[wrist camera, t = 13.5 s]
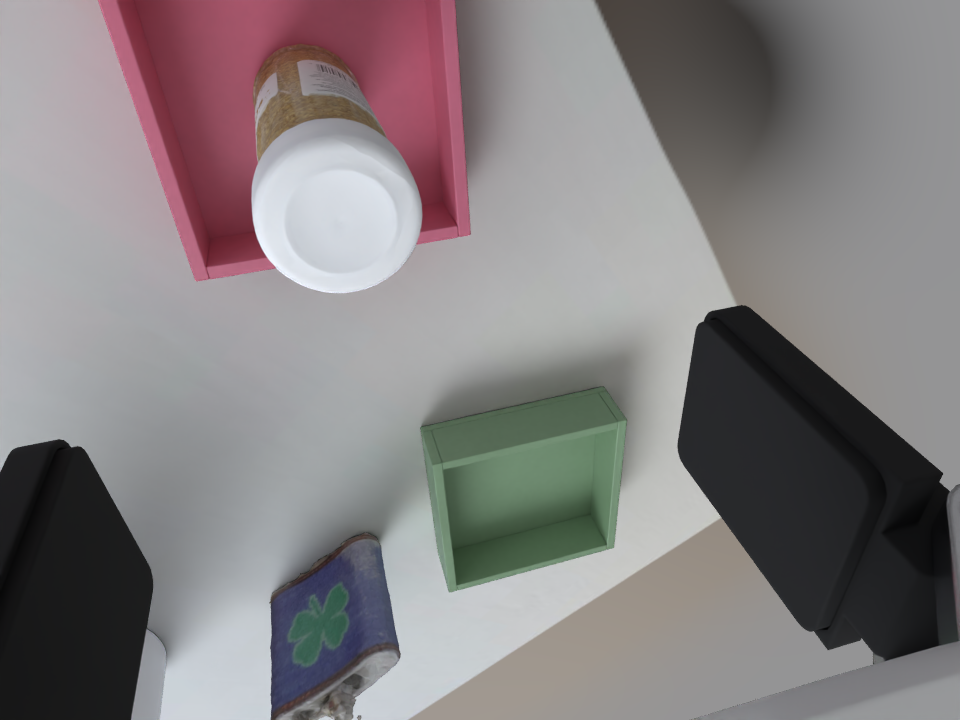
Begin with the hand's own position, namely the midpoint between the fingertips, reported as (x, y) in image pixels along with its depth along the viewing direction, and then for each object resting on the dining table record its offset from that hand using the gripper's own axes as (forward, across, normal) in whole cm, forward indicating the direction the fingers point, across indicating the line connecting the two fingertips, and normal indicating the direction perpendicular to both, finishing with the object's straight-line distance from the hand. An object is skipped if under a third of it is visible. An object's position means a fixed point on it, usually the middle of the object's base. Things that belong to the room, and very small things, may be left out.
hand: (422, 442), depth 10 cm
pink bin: (+23, +1, 0) cm, 23 cm away
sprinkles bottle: (+23, +1, 0) cm, 23 cm away
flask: (+23, +6, +31) cm, 39 cm away
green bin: (+23, -8, +26) cm, 36 cm away
